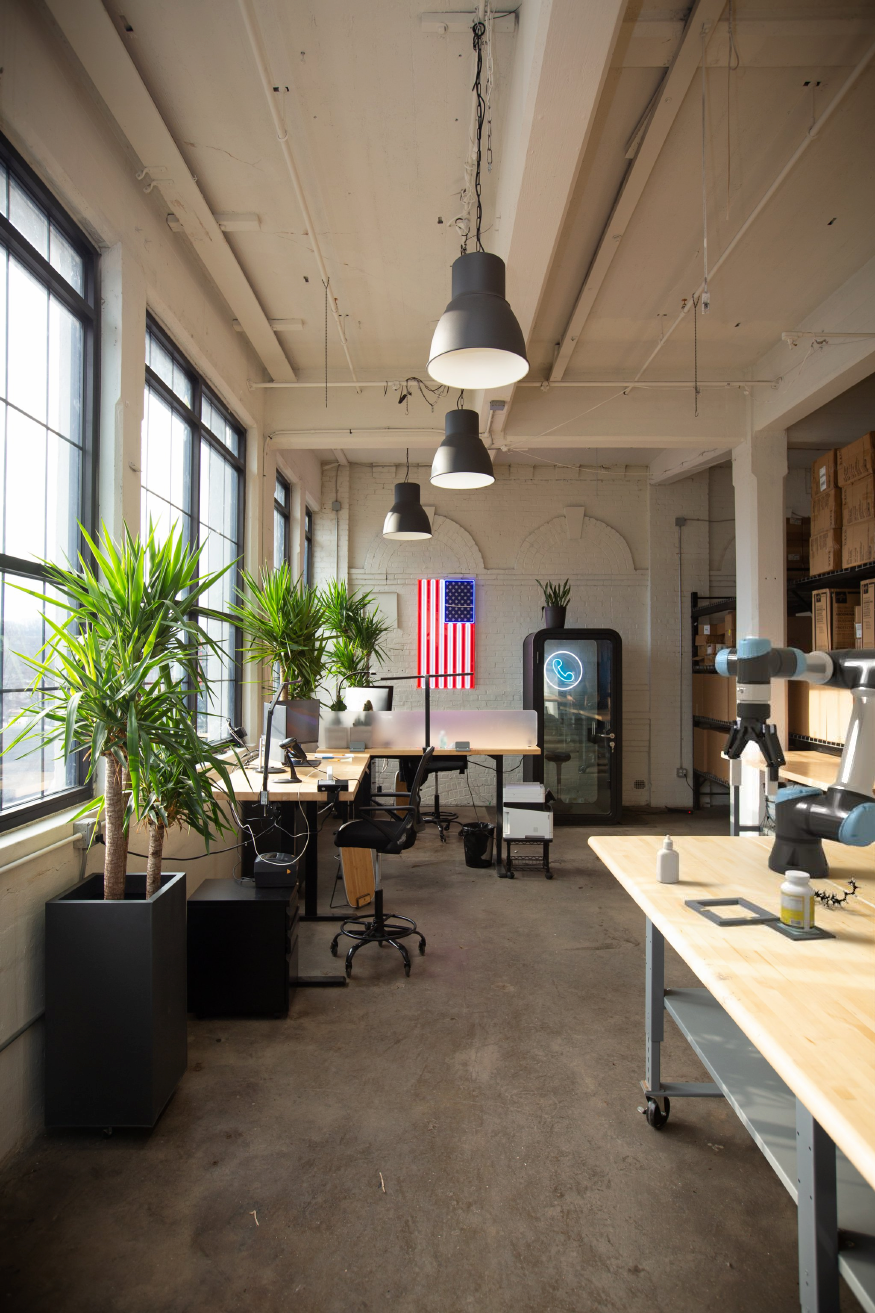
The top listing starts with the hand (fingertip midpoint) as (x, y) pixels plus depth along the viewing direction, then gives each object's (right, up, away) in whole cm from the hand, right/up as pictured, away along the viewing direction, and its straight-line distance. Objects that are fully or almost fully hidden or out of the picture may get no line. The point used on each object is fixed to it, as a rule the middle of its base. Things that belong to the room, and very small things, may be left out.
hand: (752, 790), depth 170 cm
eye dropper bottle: (-16, -27, +15) cm, 35 cm away
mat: (+1, -26, -19) cm, 33 cm away
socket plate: (-9, -26, -9) cm, 29 cm away
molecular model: (+16, -27, -3) cm, 32 cm away
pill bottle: (+1, -26, -19) cm, 32 cm away
